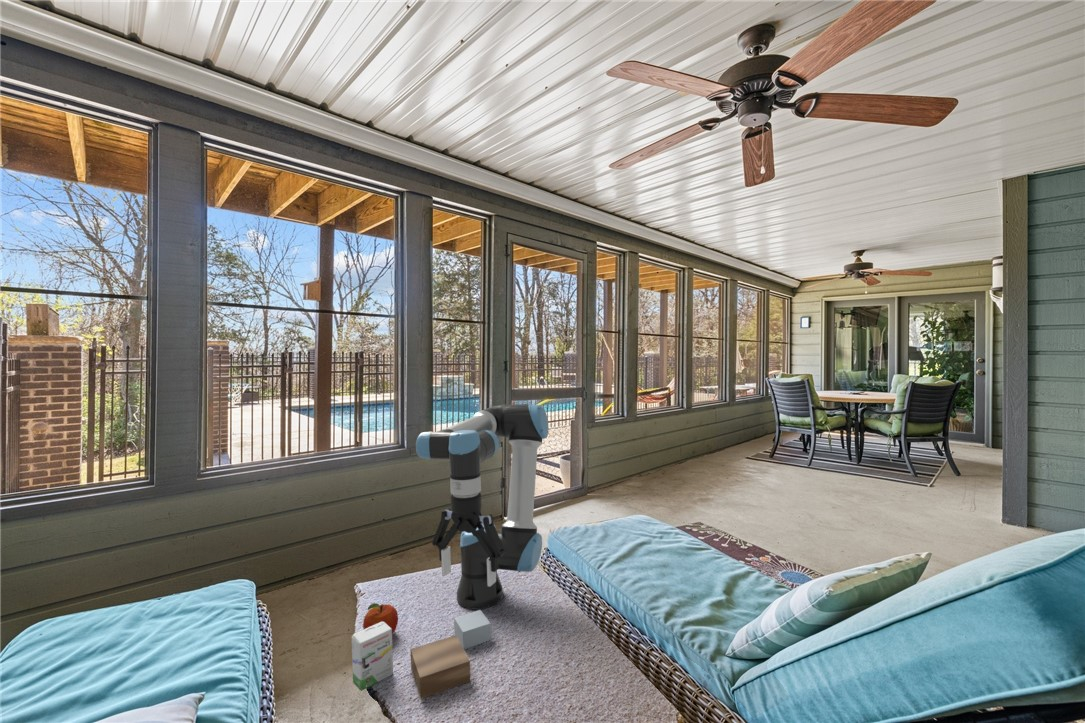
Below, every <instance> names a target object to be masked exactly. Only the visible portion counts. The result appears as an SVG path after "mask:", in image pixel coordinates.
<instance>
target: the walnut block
mask: <svg viewBox="0 0 1085 723" xmlns="http://www.w3.org/2000/svg"><path fill="white" fill-rule="evenodd" d="M409 651H410V670H411V672H412V676H413V679H414V682H415V686H416V689H417V691H418V692H417V693H418V694H419V698H420V699H421V700H422V699H425V698H427V697H431V696H434V695H436V694H439V693H442V692H444V691H447V690H450V689H453V688H455V687H458V686H461V685H463V684H467V683H470V682H471V660H470V659H469V657H468V655H467V653H466V651H465V649H463V647H462V645H461V643H460V641H459V640H458V638H457V636H456V635H455V634H454V635H452V636H449V637H446V638H443V639H439V640H436V641H432V642H430V643H426V644H422V645H419V646H416V647H412V648H410V650H409Z"/></svg>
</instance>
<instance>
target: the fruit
mask: <svg viewBox="0 0 1085 723" xmlns="http://www.w3.org/2000/svg"><path fill="white" fill-rule="evenodd" d="M398 615H399V614H398V611H397V609H396V608H395V607H394V606H393V605H391V604H383V603H382V604H380V605H379V603H376V602H374V603H372V604H370V605H369V606H368V607H367V613H365V615H364V618H363V621H362V622H363V623H362V627H363V629H362V630H364V629H366V628H368V627H371V626H373V625H375V624H377V623H380V622H385V623H386V624H387V625H388V626H389V627H390V628H392V635H393V634H394V632H395V631H396V629H397V626H398V624H399V616H398Z"/></svg>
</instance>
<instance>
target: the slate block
mask: <svg viewBox="0 0 1085 723" xmlns="http://www.w3.org/2000/svg"><path fill="white" fill-rule="evenodd" d="M453 620H454V621H453V627H454V629H453V630H454V636H455V635H456V636H457V638H458V640H459V641H460V643H461V645H462V647H463V649H464V650H466V649H471V648H473V647H475V646H478V644H479V645H481V643H482V644H484V643H487V642H490V641H491V640H492V633H491V632H492V631H491V629H492V628H491V626H492V625H491V622H490V621H489V619H488V618H487V616H485V614H484V613H483V612H482V609H477V610H476V611H475V610H474V611H473V612H469V613H465V614H462V615H459V616H456V617H454V618H453ZM489 640H490V641H489ZM486 641H487V642H486ZM483 642H484V643H483Z"/></svg>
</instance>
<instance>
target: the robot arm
mask: <svg viewBox="0 0 1085 723" xmlns="http://www.w3.org/2000/svg"><path fill="white" fill-rule="evenodd" d="M546 412H547V411H546V409H545V408H544V407H543V406H542V405H541V404H532V403H529V404H528V403H527V404H524V403H523V404H499V405H497V404H496V405H494V406H491V407H487V408H484V409H482V410H479V411H477V412H476V413H474V414H473V416H472V417H470V418H467V419H465V420H463V421H460V422H458V423H456V424H453V425H451V426H448V427H445V428H443V429H440V430H438V431H431V430H430V431H424V432H423V431H422V432H420V434H418V436H417V438H416V442H415V451H416V455H417V456H418V457H419V458H420V459H424V460H429V461H432V460H433V461H434V460H435V461H436V460H437V461H438V460H440V461H441V460H443V461H449V479H450V480H449V481H450V482H449V483H450V485H449V486H450V494H451V496H450V508H447V509H444V510H443V511H441V515H440V516H441V517H440V521H439V524H438V527H437V529H436V531H435V535H434V536H433V540H432V542H431V544H432V546H433V547H434V546H436V547H437V548H438V553H439V554H438V556H439V561H440V562H441V576H442V577H446V576H447V575H448V574H450V573H451V572H452V564H451V562H452V560H451V559H452V558H451V546H449V543H450V542H451V541H452V539H453V538H454V537H455V536H456V534H457V533H458V531H459V532H461V534H460V543H459V547H460V568H461V576H460V580H459V583H458V586H457V590H456V601H457V604H458V605H460V606H462V607H463V608H466V609H472V610H482V609H485V608H490V607H492V606H494V605H496V604H498V603H500V601H501V600H502V599H503V596H504V592H503V591H504V589H503V585H502V581H501V580H500V577H499V574H498V570H504V571H512V572H513V571H514V572H518V573H521V572H524V573H529V572H533V571H534V570H535V569H536V568H537V565H538V563H539V561H540V558H541V553H542V548H543V537H542V535H541V534H540V533H539V532H538V526H537V525H536V524H535V523H534V508H535V506H534V505H535V494H536V493H535V492H536V491H535V490H536V476H537V475H536V474H537V462H538V461H537V460H538V449H539V447H541V445H543V439H544V440H545V439H546V438H548V436H549V419H548V416H547V413H546ZM499 438H508V443H509V444H510V446H512V450H511V451H512V452H511V463H510V476H509V478H510V479H509V489H508V492H509V493H508V503H507V516H506V521H505V522H504V523H503V524H501V530H497V527H496V525H495V524H494V518H493V517H494V516H493V515H492V514H488V515H482V512H481V510H482V494H481V492H482V483H481V482H482V479H481V478H482V477H481V476H482V475H481V463H483V462H485V461H487V460H489V459H491V458H492V457H494V456H495V455H496V453H498V451H499V449H500V439H499ZM451 519H452V521H453V524H452V525H451V526H450V528H449V530H448V531H447V529H448V527H449V524H450V521H451ZM446 531H447V533H446Z"/></svg>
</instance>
